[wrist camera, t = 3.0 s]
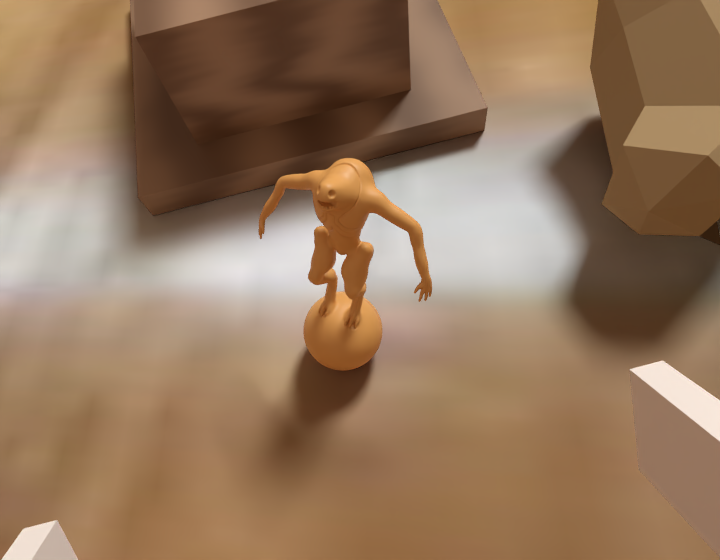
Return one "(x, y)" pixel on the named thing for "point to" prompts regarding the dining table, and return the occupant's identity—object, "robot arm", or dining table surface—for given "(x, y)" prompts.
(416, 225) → the figurine
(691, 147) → the low-poly potato
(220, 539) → the dining table surface
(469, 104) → the pedestal
